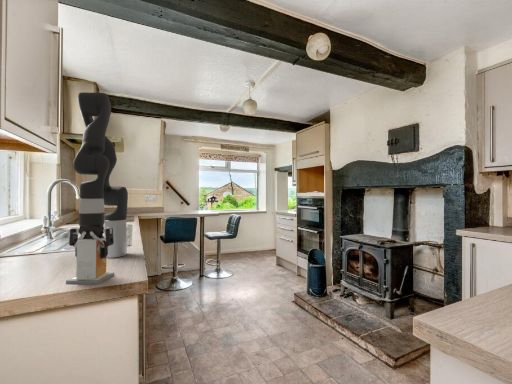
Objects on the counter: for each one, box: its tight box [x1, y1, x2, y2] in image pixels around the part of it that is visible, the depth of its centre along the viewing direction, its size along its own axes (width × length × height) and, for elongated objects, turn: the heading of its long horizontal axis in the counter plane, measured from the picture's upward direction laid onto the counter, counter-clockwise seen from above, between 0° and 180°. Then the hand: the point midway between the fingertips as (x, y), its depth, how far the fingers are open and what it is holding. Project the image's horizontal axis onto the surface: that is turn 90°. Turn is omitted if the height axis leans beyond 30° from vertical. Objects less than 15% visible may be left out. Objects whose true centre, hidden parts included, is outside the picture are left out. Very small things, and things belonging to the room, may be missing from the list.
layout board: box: [65, 271, 115, 285], centre depth 90 cm, size 9×11×1 cm
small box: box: [75, 236, 107, 280], centre depth 90 cm, size 8×6×13 cm
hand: (91, 258), depth 90 cm, fingers open, 8 cm apart
